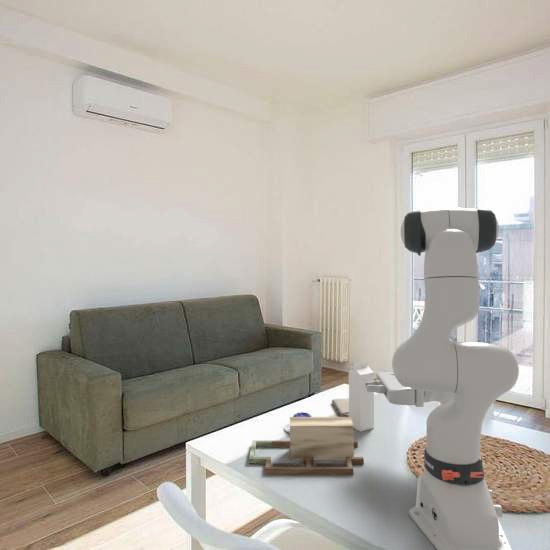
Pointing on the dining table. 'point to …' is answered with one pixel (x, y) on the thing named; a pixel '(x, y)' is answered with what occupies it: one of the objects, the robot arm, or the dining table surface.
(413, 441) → the dining table surface
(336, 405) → the washcloth
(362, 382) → the milk
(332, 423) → the beige rectangular block
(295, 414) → the pudding
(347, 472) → the frame
